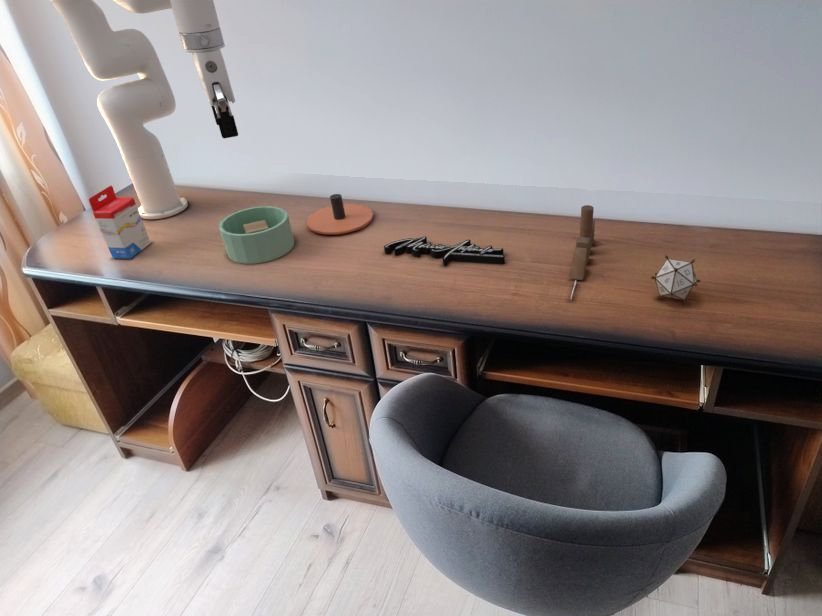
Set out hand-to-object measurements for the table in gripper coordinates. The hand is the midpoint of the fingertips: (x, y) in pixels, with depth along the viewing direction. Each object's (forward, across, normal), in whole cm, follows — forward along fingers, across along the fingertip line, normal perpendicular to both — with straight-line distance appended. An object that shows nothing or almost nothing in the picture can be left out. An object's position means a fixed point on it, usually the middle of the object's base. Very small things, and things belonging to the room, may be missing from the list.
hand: (227, 130), depth 131 cm
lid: (+26, +3, -20) cm, 34 cm away
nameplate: (+27, -26, -36) cm, 52 cm away
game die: (+26, -64, -67) cm, 96 cm away
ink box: (+28, +14, +28) cm, 42 cm away
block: (+27, -1, 0) cm, 27 cm away
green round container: (+27, -1, 0) cm, 27 cm away
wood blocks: (+26, -46, -58) cm, 79 cm away
